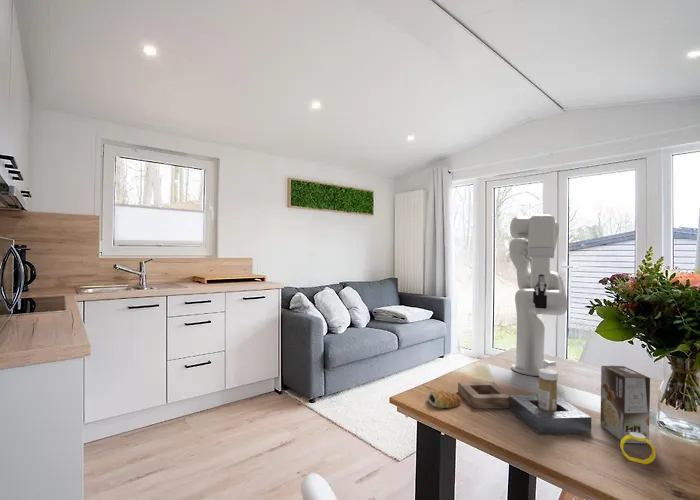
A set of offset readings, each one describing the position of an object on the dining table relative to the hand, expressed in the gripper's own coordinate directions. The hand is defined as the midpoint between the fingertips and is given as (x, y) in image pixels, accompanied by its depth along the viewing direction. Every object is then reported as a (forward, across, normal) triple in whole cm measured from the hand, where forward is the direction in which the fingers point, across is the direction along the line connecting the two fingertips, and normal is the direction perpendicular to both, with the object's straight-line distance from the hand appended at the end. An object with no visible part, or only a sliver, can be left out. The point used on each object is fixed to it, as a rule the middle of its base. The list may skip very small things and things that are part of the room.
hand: (539, 305), depth 116 cm
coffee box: (+28, +20, +18) cm, 39 cm away
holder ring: (+28, +14, -15) cm, 35 cm away
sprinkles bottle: (+28, +20, +1) cm, 35 cm away
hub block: (+28, +20, +1) cm, 35 cm away
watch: (+28, +32, +18) cm, 47 cm away
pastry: (+29, +22, -26) cm, 45 cm away
